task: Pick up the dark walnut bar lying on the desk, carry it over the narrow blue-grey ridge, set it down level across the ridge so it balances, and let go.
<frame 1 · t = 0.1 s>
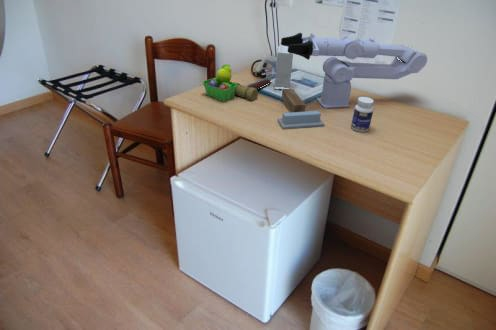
hand: (284, 44, 131), 22 cm above the table, tool horizontal, fingers open, 7 cm apart
skincare box: (282, 87, 158), on the table
fruit basket: (221, 96, 149), on the table
pill bottle: (359, 128, 130), on the table
gavel: (256, 91, 155), on the table
fulcrum: (300, 123, 131), on the table
walnut bar: (292, 108, 142), on the table
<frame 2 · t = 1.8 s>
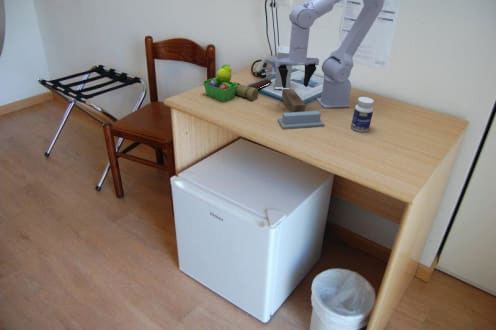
hand: (294, 86, 137), 8 cm above the table, tool pointing down, fingers open, 7 cm apart
nothing on the table moved.
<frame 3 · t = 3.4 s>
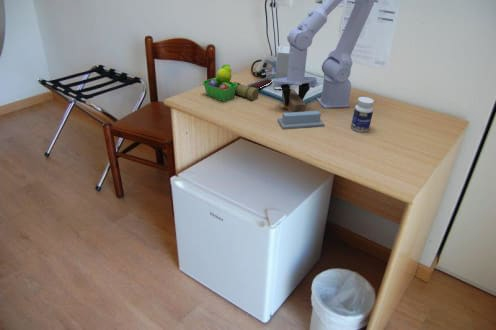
hand: (292, 104, 141), 1 cm above the table, tool pointing down, fingers closed on walnut bar, 4 cm apart
walnut bar: (292, 108, 141), on the table, touching gripper
everything else where it was.
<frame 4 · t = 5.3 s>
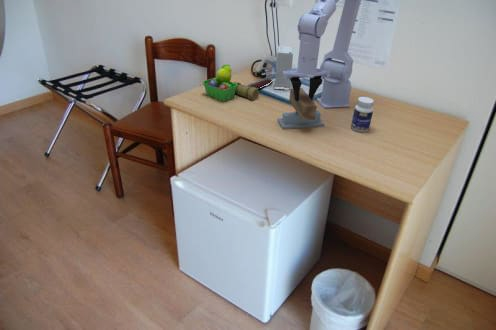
hand: (303, 99, 127), 8 cm above the table, tool pointing down, fingers closed on walnut bar, 4 cm apart
walnut bar: (301, 109, 129), point 5 cm above the table, touching gripper
everything else where it was.
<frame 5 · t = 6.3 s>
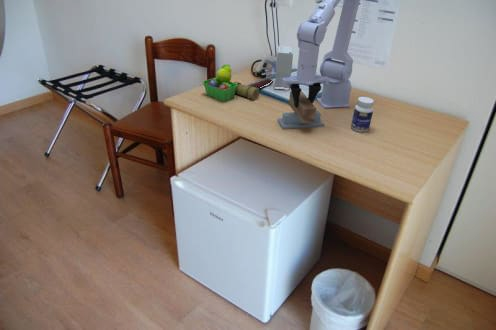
hand: (302, 105, 128), 6 cm above the table, tool pointing down, fingers closed on walnut bar, 4 cm apart
walnut bar: (301, 112, 130), point 4 cm above the table, touching fulcrum, gripper
everything else where it was.
when the fingers open (6 cm above the table, at t = 6.6 s): walnut bar stays where it is, resting on fulcrum.
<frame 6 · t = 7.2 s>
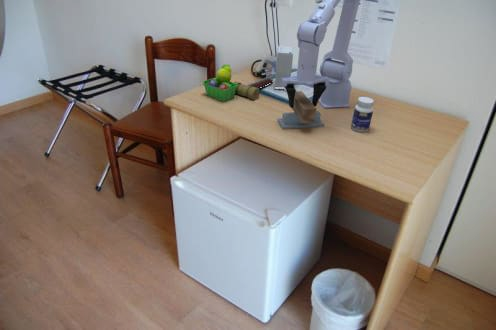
hand: (302, 106, 128), 6 cm above the table, tool pointing down, fingers open, 7 cm apart
walnut bar: (301, 112, 130), point 4 cm above the table, touching fulcrum
everything else where it was.
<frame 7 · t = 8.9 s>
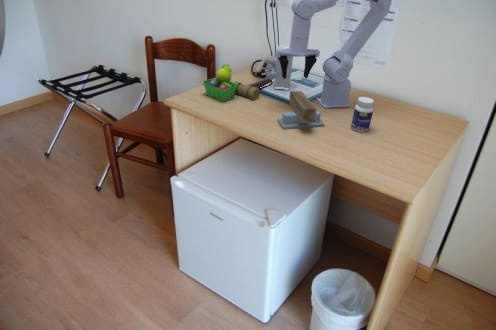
hand: (294, 77, 138), 10 cm above the table, tool pointing down, fingers open, 7 cm apart
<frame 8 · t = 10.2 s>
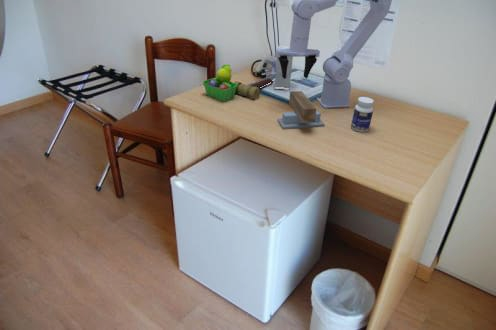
hand: (294, 77, 138), 10 cm above the table, tool pointing down, fingers open, 7 cm apart
at the end: walnut bar inside the target area on the fulcrum (0.5 cm from its centre), point 3.6 cm above the fulcrum's base; walnut bar touching fulcrum; walnut bar tilted 0° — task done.
